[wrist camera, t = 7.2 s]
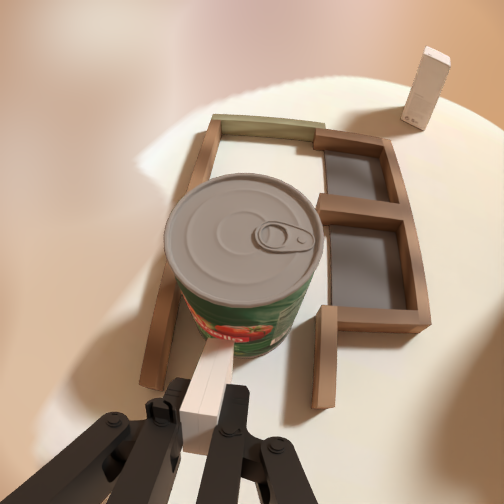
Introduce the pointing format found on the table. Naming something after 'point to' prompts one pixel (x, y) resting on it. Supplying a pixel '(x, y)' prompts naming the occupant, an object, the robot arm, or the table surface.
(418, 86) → the skincare box
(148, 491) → the robot arm
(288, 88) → the table surface
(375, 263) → the wooden rail frame
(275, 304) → the canned tomato
